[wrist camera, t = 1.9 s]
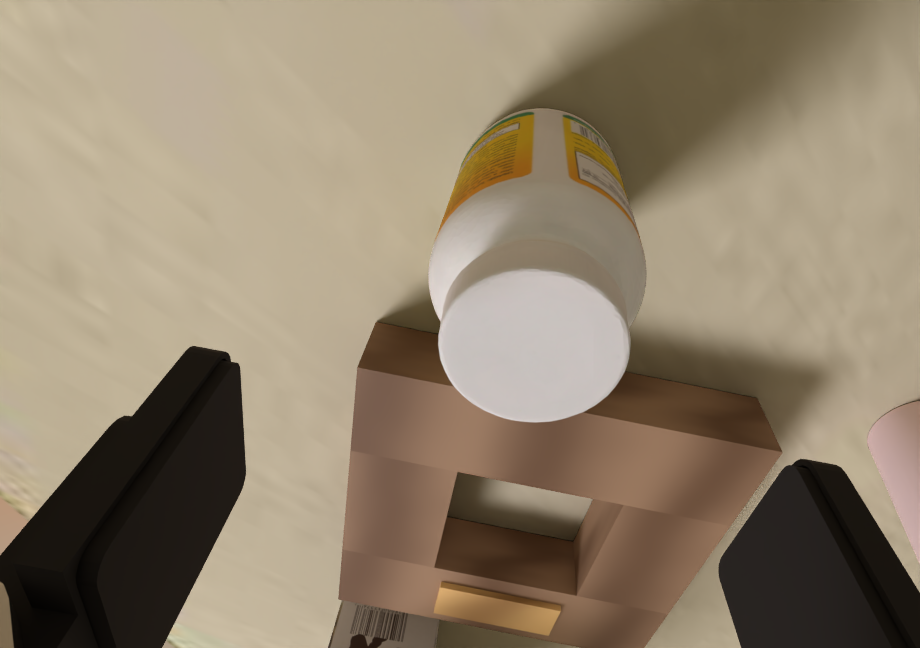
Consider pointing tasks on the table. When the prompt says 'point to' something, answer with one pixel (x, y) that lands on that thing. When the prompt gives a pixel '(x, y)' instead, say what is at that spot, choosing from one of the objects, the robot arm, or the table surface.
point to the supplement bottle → (537, 269)
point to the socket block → (547, 467)
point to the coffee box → (381, 628)
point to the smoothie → (900, 464)
